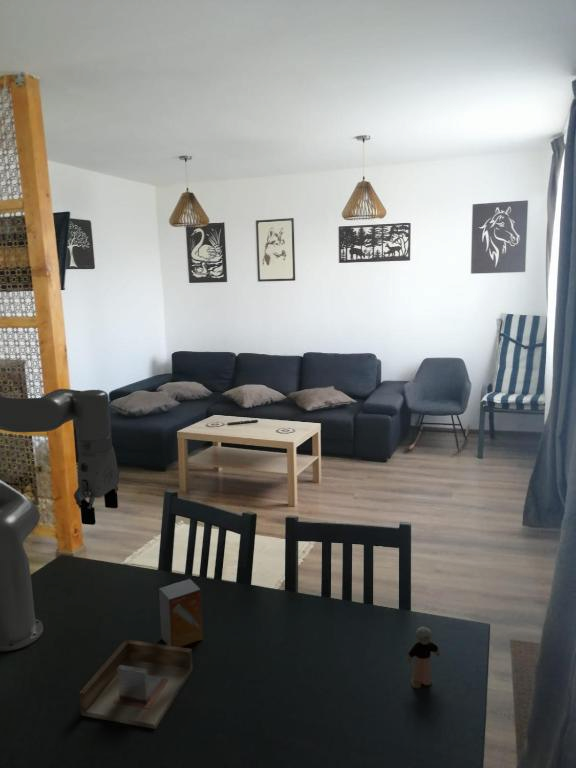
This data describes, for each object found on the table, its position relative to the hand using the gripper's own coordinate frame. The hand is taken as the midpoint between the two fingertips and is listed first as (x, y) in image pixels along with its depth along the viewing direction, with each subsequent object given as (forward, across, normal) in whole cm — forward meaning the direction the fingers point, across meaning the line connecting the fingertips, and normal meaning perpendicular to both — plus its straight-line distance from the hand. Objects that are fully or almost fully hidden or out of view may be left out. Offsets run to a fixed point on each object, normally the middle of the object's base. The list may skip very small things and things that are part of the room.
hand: (100, 515), depth 141 cm
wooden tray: (+30, -17, -17) cm, 39 cm away
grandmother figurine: (+31, -1, -74) cm, 80 cm away
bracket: (+29, -18, -18) cm, 39 cm away
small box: (+31, +2, -18) cm, 35 cm away
